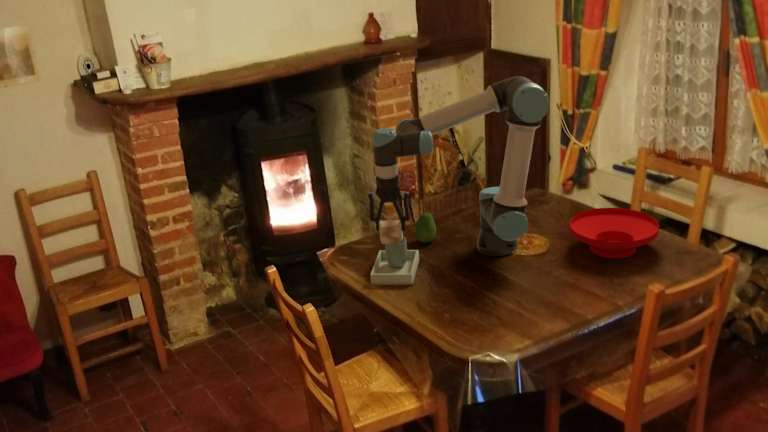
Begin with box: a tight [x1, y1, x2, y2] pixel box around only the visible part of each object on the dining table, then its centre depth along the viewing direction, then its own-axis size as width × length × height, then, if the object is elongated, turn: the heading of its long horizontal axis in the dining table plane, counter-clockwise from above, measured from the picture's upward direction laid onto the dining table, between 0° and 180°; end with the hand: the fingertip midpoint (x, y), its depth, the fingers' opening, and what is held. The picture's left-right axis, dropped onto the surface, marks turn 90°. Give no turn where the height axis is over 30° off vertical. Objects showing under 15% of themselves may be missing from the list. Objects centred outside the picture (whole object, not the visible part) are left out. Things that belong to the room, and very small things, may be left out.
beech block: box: [381, 220, 400, 245], centre depth 278 cm, size 6×6×6 cm
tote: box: [369, 249, 420, 286], centre depth 290 cm, size 14×19×4 cm
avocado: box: [414, 212, 437, 244], centre depth 310 cm, size 8×8×12 cm
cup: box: [384, 236, 408, 268], centre depth 291 cm, size 8×8×10 cm
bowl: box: [568, 207, 660, 259], centre depth 291 cm, size 30×30×10 cm
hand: (391, 239), depth 279 cm, fingers closed on beech block, 6 cm apart
